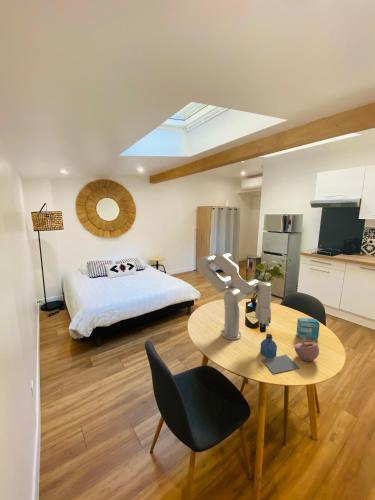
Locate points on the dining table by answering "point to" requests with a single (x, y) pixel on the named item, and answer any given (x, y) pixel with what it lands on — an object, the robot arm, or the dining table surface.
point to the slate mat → (280, 364)
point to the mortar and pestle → (307, 350)
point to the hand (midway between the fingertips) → (262, 331)
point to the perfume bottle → (268, 347)
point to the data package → (308, 328)
